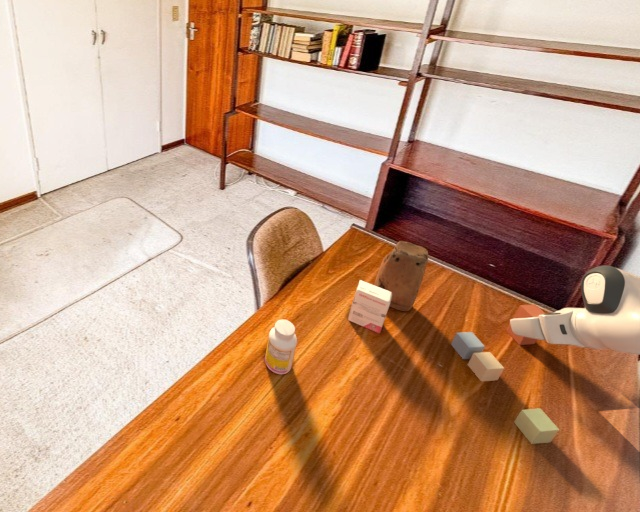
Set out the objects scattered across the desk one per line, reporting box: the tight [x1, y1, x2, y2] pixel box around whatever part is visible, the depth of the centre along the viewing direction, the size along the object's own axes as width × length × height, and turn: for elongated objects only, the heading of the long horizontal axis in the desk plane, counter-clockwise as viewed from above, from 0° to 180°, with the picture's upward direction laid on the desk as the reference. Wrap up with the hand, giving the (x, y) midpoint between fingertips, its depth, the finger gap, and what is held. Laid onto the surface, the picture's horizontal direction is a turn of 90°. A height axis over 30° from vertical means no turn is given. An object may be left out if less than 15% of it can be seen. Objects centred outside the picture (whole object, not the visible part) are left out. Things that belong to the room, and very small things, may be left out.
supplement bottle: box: [264, 319, 298, 375], centre depth 96 cm, size 7×7×13 cm
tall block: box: [505, 304, 547, 346], centre depth 107 cm, size 4×4×10 cm
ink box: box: [347, 279, 392, 334], centre depth 109 cm, size 9×5×12 cm, turn 58°
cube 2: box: [467, 351, 505, 382], centre depth 98 cm, size 4×4×4 cm
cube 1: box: [513, 407, 560, 445], centre depth 85 cm, size 4×4×4 cm
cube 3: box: [450, 331, 486, 360], centre depth 103 cm, size 4×4×4 cm
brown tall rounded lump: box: [373, 240, 429, 312], centre depth 115 cm, size 11×8×20 cm
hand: (527, 323), depth 107 cm, fingers closed on tall block, 4 cm apart
